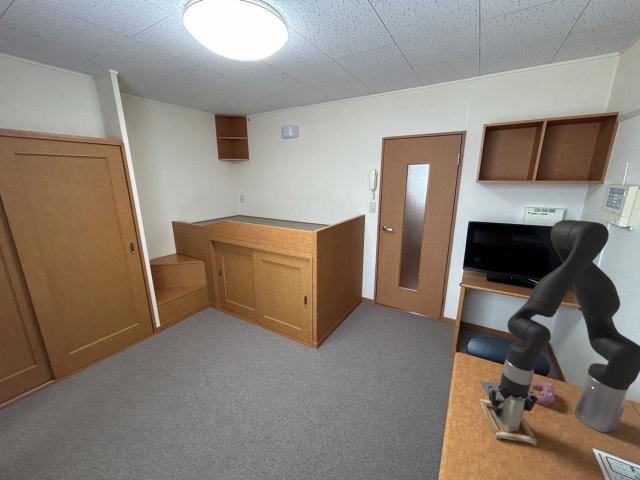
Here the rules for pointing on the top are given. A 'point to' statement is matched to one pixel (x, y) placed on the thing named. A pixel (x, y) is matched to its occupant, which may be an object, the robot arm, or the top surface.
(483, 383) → the coaster
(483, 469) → the top surface
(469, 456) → the top surface
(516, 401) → the skincare box
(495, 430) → the wooden rectangular frame
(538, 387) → the video game controller
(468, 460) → the top surface
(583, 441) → the top surface
